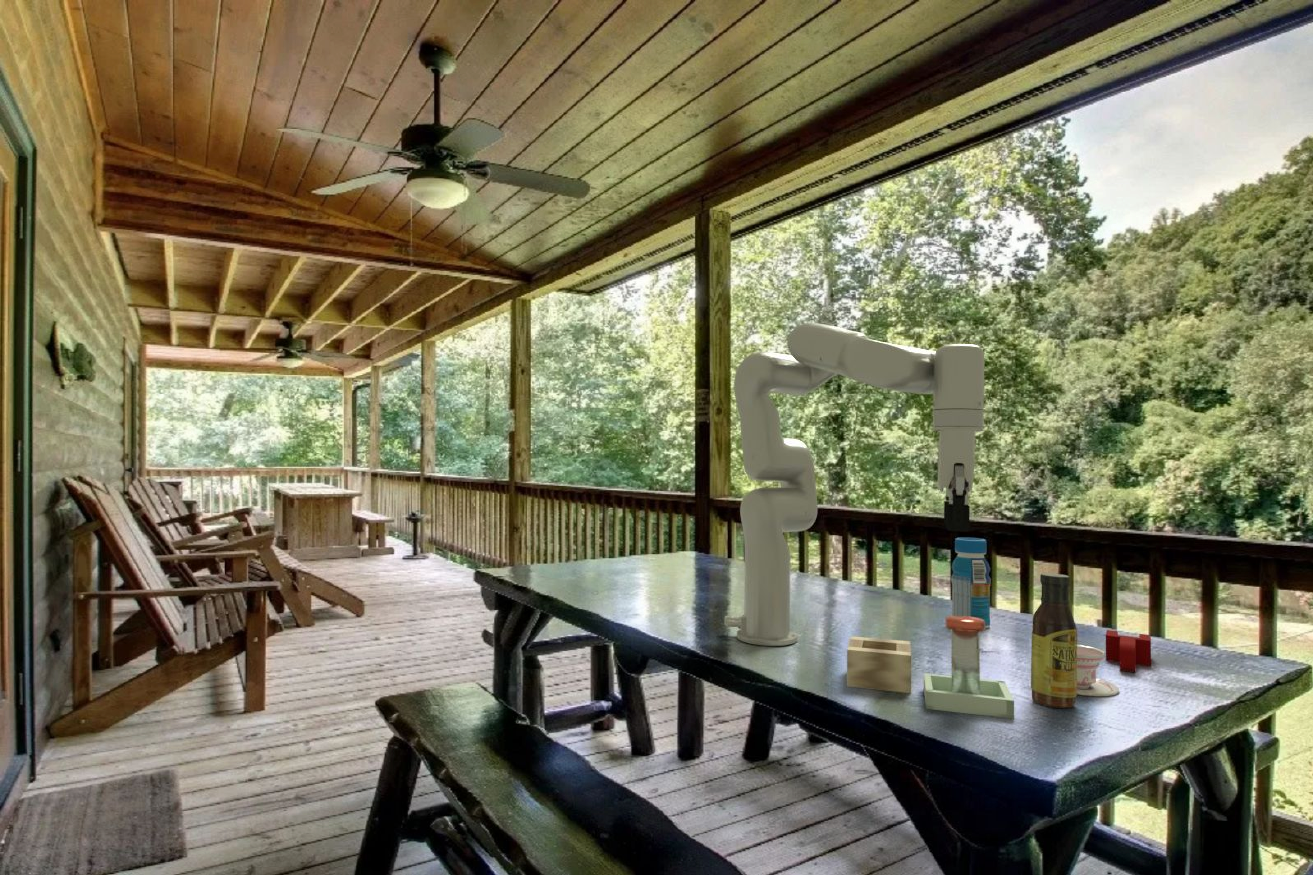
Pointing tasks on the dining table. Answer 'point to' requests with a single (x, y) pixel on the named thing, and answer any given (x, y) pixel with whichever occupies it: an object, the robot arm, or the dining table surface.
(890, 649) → the socket block
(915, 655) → the dining table surface
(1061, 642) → the sauce bottle
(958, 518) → the robot arm
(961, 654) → the pin
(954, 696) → the tray
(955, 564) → the beverage bottle
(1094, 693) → the teacup
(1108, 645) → the mechanical linkage
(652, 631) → the dining table surface
